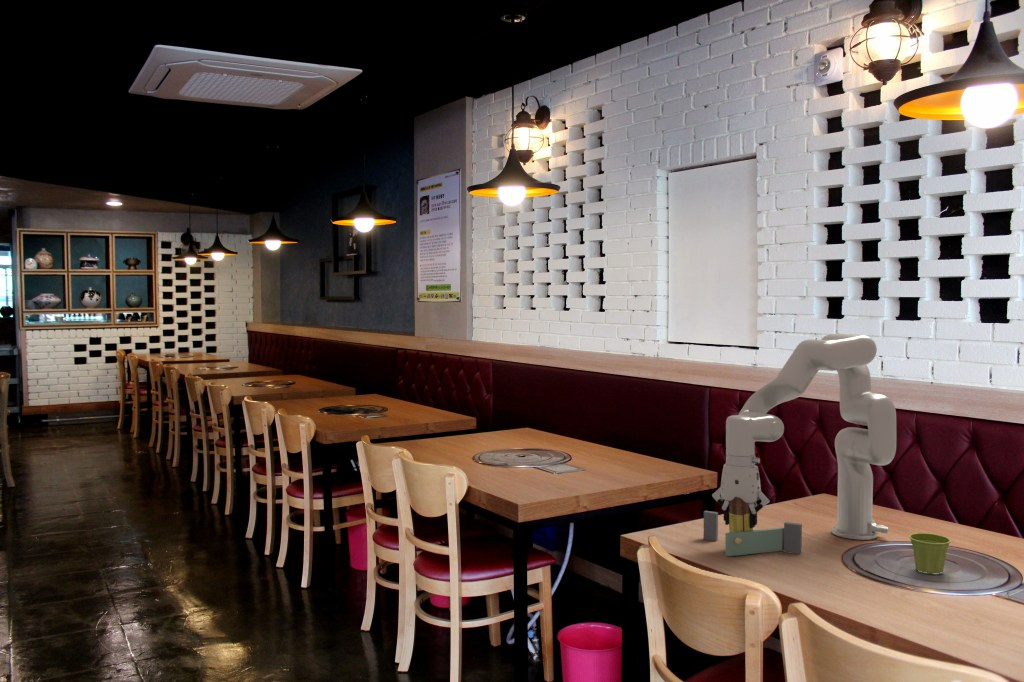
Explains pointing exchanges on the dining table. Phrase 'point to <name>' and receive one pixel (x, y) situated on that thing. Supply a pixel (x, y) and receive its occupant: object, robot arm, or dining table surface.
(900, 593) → the dining table surface
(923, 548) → the plant pot
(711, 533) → the partition wall
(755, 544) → the door
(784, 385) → the robot arm
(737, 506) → the sauce bottle
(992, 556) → the dining table surface
